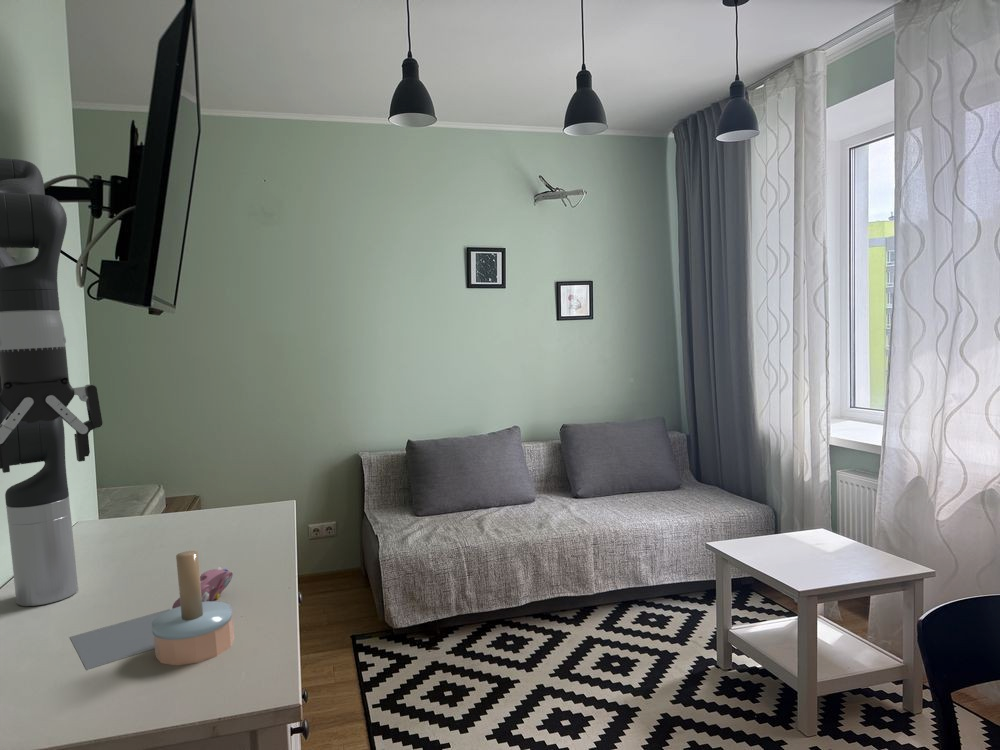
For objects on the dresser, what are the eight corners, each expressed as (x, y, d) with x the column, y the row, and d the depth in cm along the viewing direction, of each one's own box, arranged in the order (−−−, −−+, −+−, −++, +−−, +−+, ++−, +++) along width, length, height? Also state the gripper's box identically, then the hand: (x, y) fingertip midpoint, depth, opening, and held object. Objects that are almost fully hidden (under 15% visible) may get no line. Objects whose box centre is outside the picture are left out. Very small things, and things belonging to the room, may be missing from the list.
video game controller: (190, 627, 111) (205, 589, 110) (167, 613, 112) (181, 576, 111) (227, 602, 121) (241, 567, 120) (206, 589, 121) (219, 555, 120)
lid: (143, 623, 100) (137, 555, 99) (218, 602, 106) (212, 537, 105) (163, 647, 92) (157, 572, 91) (242, 622, 98) (237, 552, 98)
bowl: (149, 650, 100) (146, 623, 100) (220, 627, 106) (218, 602, 106) (168, 674, 92) (165, 645, 92) (243, 649, 99) (241, 622, 98)
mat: (69, 639, 105) (69, 636, 105) (169, 611, 114) (169, 609, 114) (86, 672, 94) (86, 669, 94) (195, 638, 103) (194, 635, 103)
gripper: (88, 343, 100) (99, 454, 101) (-37, 349, 91) (-23, 471, 92) (98, 342, 94) (109, 460, 95) (-34, 349, 85) (-20, 479, 86)
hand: (44, 466), depth 94 cm, fingers open, 8 cm apart
